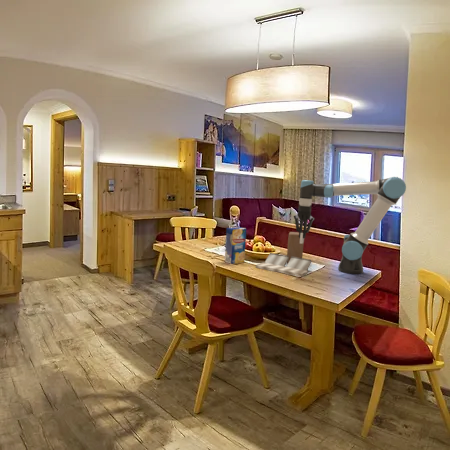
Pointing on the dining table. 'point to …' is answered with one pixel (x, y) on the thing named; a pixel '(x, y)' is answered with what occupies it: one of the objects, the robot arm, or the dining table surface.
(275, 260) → the grey ridged flat piece
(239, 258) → the blue food box
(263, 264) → the grey ridged flat tray
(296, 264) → the grey wavy slab
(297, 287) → the dining table surface
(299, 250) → the wooden block
